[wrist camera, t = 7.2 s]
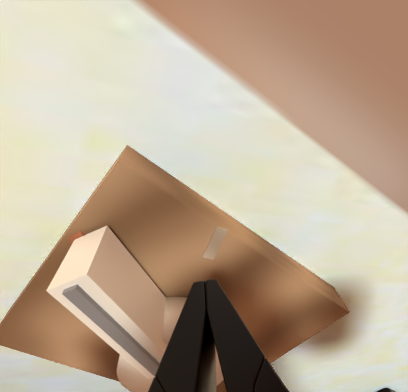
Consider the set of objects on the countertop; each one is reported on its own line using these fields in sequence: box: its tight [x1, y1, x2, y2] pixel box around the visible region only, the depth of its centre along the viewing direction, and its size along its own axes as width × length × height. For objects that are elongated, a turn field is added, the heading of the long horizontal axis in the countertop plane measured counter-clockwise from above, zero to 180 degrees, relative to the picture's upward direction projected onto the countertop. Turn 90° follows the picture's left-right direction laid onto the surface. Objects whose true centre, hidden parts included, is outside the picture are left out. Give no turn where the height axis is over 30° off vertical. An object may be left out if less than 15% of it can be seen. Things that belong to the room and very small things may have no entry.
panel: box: [0, 145, 349, 392], centre depth 17 cm, size 17×15×2 cm
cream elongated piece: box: [46, 226, 224, 392], centre depth 14 cm, size 12×6×3 cm, turn 24°
